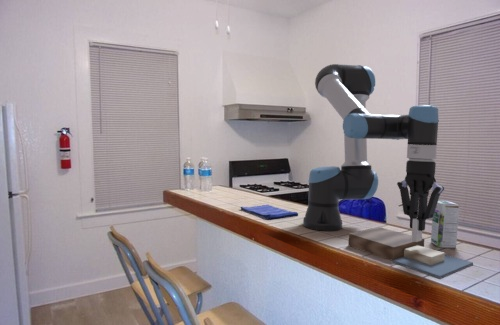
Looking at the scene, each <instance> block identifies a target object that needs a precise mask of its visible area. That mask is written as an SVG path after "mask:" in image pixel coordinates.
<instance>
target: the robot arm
mask: <svg viewBox="0 0 500 325" xmlns="http://www.w3.org/2000/svg"><path fill="white" fill-rule="evenodd" d="M314 80H315V81H314V85H315V89H316V91H317V93H318V94H319V95H320V96H321V97H323V98H325V99H327V101H328V102H329V103H330V104H331V106H332V107H333V109H334V111H336V112H337V113H338V115H339V116H340V117H341V119H342V120H343V122H342V130H343V134H344V136H343V137H344V138H343V139H344V162H343V163H342V164H341V166H340V167H339V166H322V167H315V168H313V169H311V170H310V171H309V176H308V203H307V205H308V206H307V209H306V211H305V216H304V217H303V220H302V223H303V224H302V225H303V227H305V228H307V229H312V230H314V231H324V232H325V231H326V232H329V231H330V232H331V231H334V232H335V231H339V230H342V228H343V220H342V217H341V212H340V209H339V205H340V204H339V201H340V200H344V201H345V200H346V201H347V200H357V201H358V200H360V201H361V200H362V201H363V200H369V199H371V198H372V197H374V196H375V193H377V190H378V186H379V177H378V174H377V172H376V171H375V170H373V169H372V164H371V163H369V161H368V144H367V143H368V142H367V141H368V139H370V140H371V139H372V140H373V139H377V140H378V139H379V140H382V139H383V140H395V141H396V140H397V141H398V140H407V148H406V158H407V159H408V160H407V161H406V163H405V164H406V167H405V172H406V175H405V177H404V179H403V180H401V181H398V182H397V183H396V185H397V188H398V189H399V193H400V197H401V198H400V199H401V203H402V210H403V214H404V215H406V216H408V217H409V228H410V229H411V235H412V241H415V242H418V241H422V238H423V231H425V229H426V221H427V220H428V219H432V218H433V215H434V212H435V209H436V205H437V202H438V201H439V200H440V199H439V198H440V196H441V194H442V193H443V192H444V190H445V187H444V186H442V185H439V184H438V183H437V180H436V178H435V176H436V175H435V174H436V166H437V165H436V164H437V163H436V161H435V160H436V159H437V148H438V146H437V145H438V143H437V142H438V131H439V108H438V107H437V106H435V105H427V104H426V105H414V106H413V105H412V106H411V107H410V108H409V111H408V114H401V115H400V114H381V113H379V114H377V113H370V112H369V110H367V105H366V102H367V101H368V100H369V99H370V95H372V94H373V92H374V90H375V86H376V76H375V73H374V71H373V70H372V69H371V68H370V67H369V66H365V65H364V66H363V65H361V64H356V65H354V64H353V65H350V64H339V63H337V64H336V63H334V64H329V65H326V66H325V67H323V68H322V69H320V70H319V71H318V73H317V74H316V77H315V79H314ZM430 190H431V193H430ZM429 195H430V196H429ZM428 196H429V197H428ZM428 198H429V200H428Z"/></svg>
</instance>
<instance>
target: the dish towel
mask: <svg viewBox="0 0 500 325" xmlns="http://www.w3.org/2000/svg"><path fill="white" fill-rule="evenodd" d="M240 211H242V212H246V213H249V214H251V215H253V216H255V217H258V218H262V219H264V220H276V219H283V218H291V217H292V218H293V217H298V216H299V213H298V212H296V211H290V210H286V209H283V208H279V207H275V206H272V205H270V204H263V205H262V204H261V205H254V206H240Z"/></svg>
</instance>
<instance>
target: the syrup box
mask: <svg viewBox="0 0 500 325" xmlns="http://www.w3.org/2000/svg"><path fill="white" fill-rule="evenodd" d="M459 215H460V204H458V203H455V202H452V201H449V200H438V202H437V205H436V209H435V212H434V215H433V217H432V218H431V219H432V221H431V222H432V223H431V231H430V232H431V234H430V235H431V236H430V243H431V244H433V245H435V246H436V247H438V248H445V249H446V248H448V249H451V248H452V249H453V248H454V249H456V248H457V241H458V240H457V239H458V227H459V217H460V216H459Z"/></svg>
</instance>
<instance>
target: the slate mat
mask: <svg viewBox="0 0 500 325" xmlns="http://www.w3.org/2000/svg"><path fill="white" fill-rule="evenodd" d="M392 263H395V264H397V265H400V266H403V267H405V268H409V269H411V270H415V271H416V272H421V273H423V274H427V275H430V276H432V277H435V278H438V279H441V278H445V277H446V276H449V275H451V274H453V273H456V272H458V271H460V270H464V269H465V268H469V267H470V266H473V265H474V262H473V261H469V260H466V259H463V258H460V257H459V258H458V257H455V256H452V255H447V254H445V257H444V261H441V262H438V263H436V264H433V265H429V264H426V263H423V262H420V261H417V260H414V259H411V258H407V257H401V258H398V259H395V260H393V261H392Z"/></svg>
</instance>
